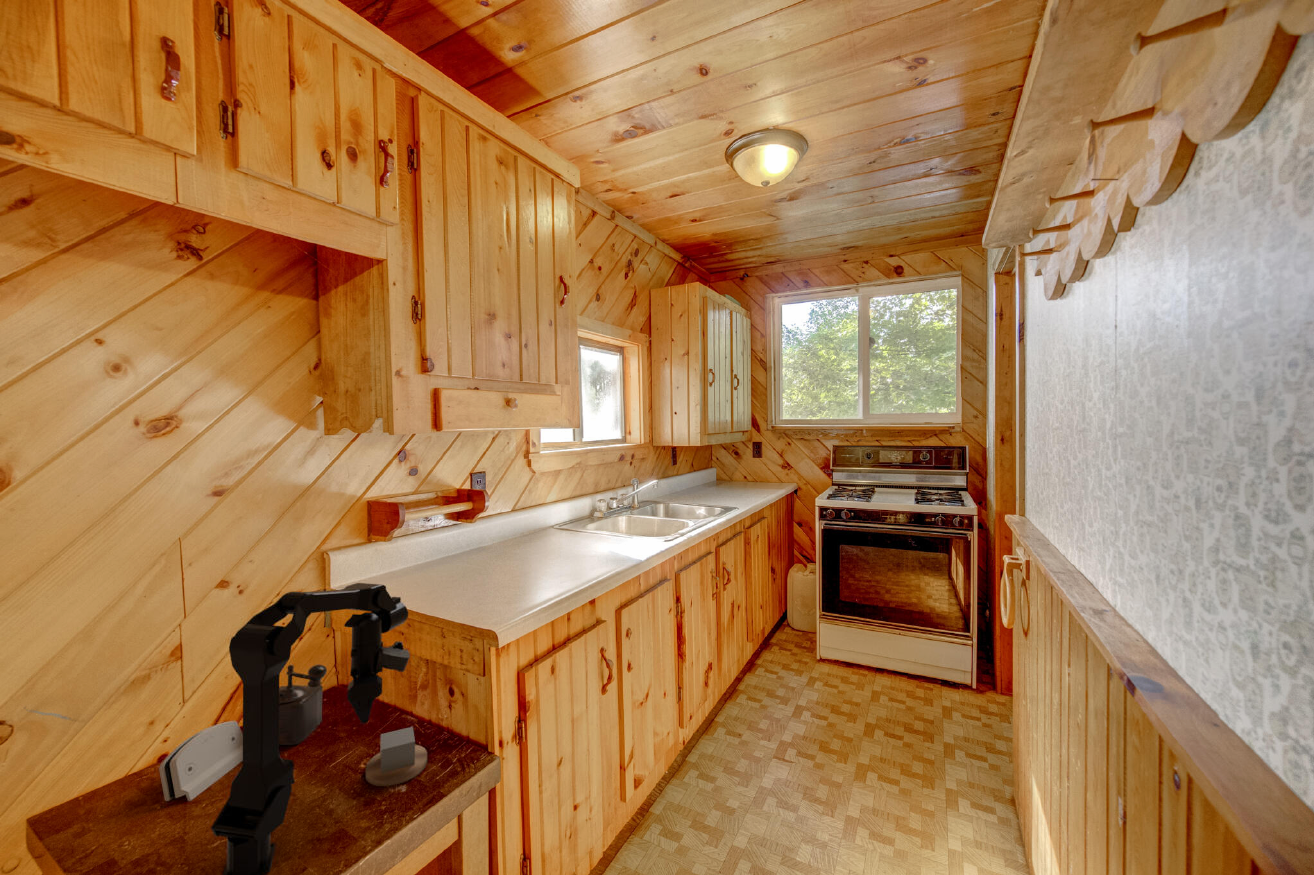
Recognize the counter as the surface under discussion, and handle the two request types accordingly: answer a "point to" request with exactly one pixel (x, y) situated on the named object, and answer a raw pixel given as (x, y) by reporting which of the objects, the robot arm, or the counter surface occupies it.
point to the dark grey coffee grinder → (300, 706)
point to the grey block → (397, 749)
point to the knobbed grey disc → (396, 775)
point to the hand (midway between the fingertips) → (365, 712)
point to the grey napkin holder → (201, 760)
